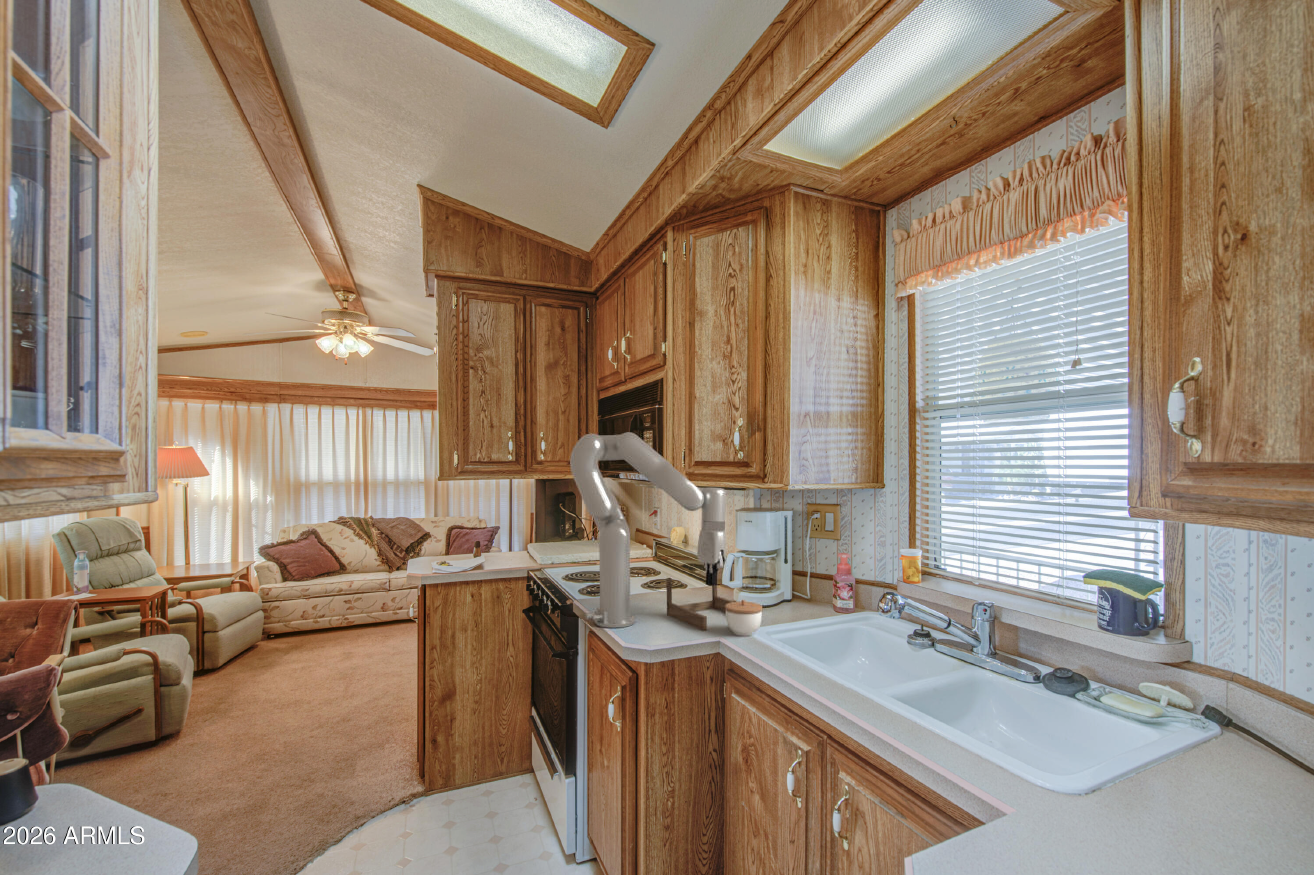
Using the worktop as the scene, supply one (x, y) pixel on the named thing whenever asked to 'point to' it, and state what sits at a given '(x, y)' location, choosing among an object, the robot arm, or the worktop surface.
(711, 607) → the wooden dowel stand
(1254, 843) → the worktop surface
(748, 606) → the lidded jar
